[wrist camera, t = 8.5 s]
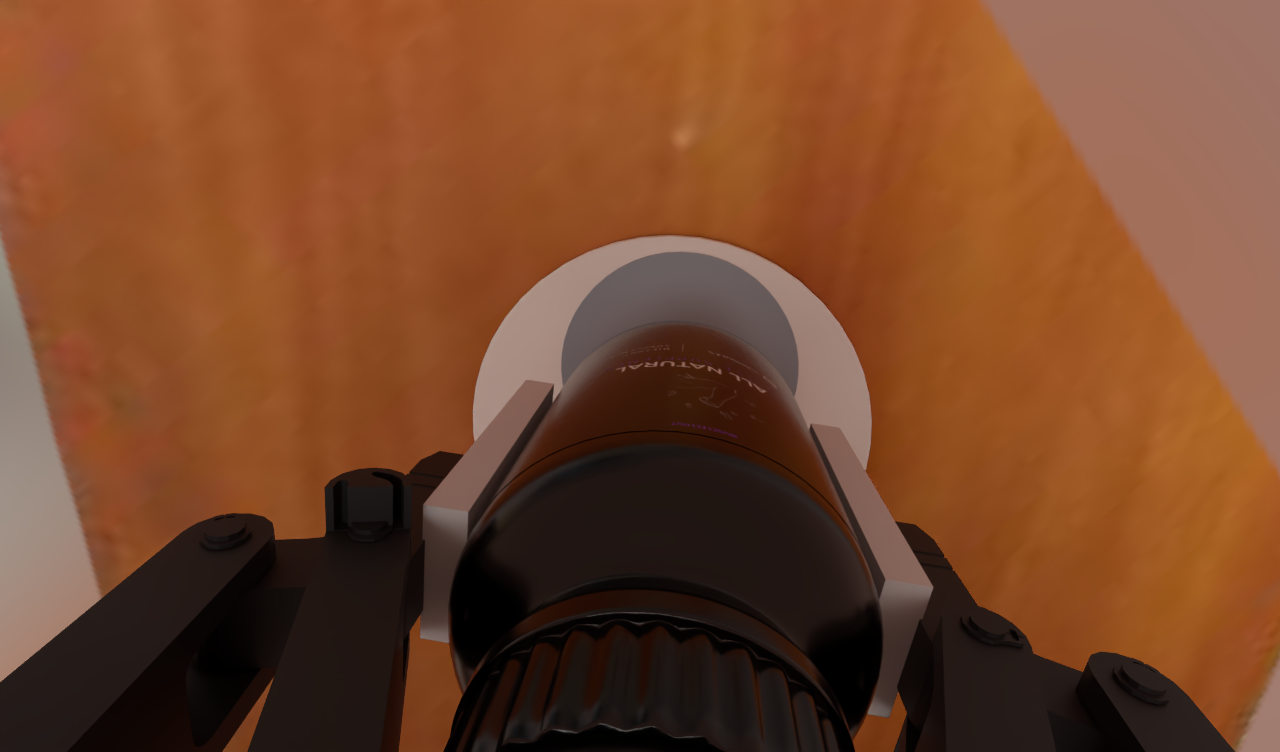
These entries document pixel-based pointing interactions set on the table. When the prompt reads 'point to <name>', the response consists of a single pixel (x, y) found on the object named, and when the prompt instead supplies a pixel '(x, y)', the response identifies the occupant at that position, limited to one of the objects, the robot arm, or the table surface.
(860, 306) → the table surface
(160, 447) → the table surface
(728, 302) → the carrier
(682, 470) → the supplement bottle
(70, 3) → the table surface
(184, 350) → the table surface
